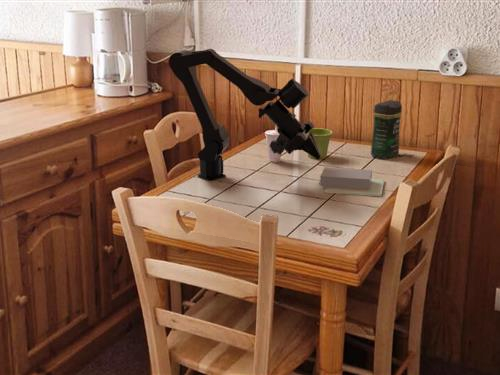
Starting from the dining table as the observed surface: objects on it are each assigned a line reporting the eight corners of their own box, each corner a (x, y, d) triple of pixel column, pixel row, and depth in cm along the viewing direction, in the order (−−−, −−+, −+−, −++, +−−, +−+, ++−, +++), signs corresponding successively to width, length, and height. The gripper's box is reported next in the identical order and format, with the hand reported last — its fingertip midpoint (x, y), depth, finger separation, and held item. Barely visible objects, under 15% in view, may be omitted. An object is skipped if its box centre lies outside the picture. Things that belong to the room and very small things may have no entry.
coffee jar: (388, 161, 223) (392, 105, 217) (367, 156, 227) (370, 102, 221) (402, 154, 230) (406, 100, 224) (381, 150, 235) (384, 97, 229)
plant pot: (336, 155, 229) (337, 130, 227) (324, 162, 222) (325, 136, 219) (311, 151, 234) (311, 127, 231) (298, 158, 226) (299, 133, 223)
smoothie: (276, 164, 219) (277, 122, 215) (260, 161, 223) (260, 119, 218) (288, 160, 224) (288, 118, 220) (272, 157, 228) (272, 116, 223)
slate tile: (320, 176, 195) (369, 179, 191) (324, 167, 203) (372, 170, 200) (320, 187, 196) (369, 190, 192) (324, 177, 204) (371, 181, 201)
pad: (324, 192, 193) (324, 190, 193) (330, 177, 206) (330, 175, 206) (381, 196, 190) (381, 194, 189) (384, 181, 202) (384, 179, 202)
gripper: (270, 129, 208) (304, 166, 209) (256, 144, 191) (293, 185, 192) (296, 105, 204) (331, 143, 205) (284, 118, 187) (322, 160, 188)
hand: (319, 158), depth 198 cm, fingers closed
